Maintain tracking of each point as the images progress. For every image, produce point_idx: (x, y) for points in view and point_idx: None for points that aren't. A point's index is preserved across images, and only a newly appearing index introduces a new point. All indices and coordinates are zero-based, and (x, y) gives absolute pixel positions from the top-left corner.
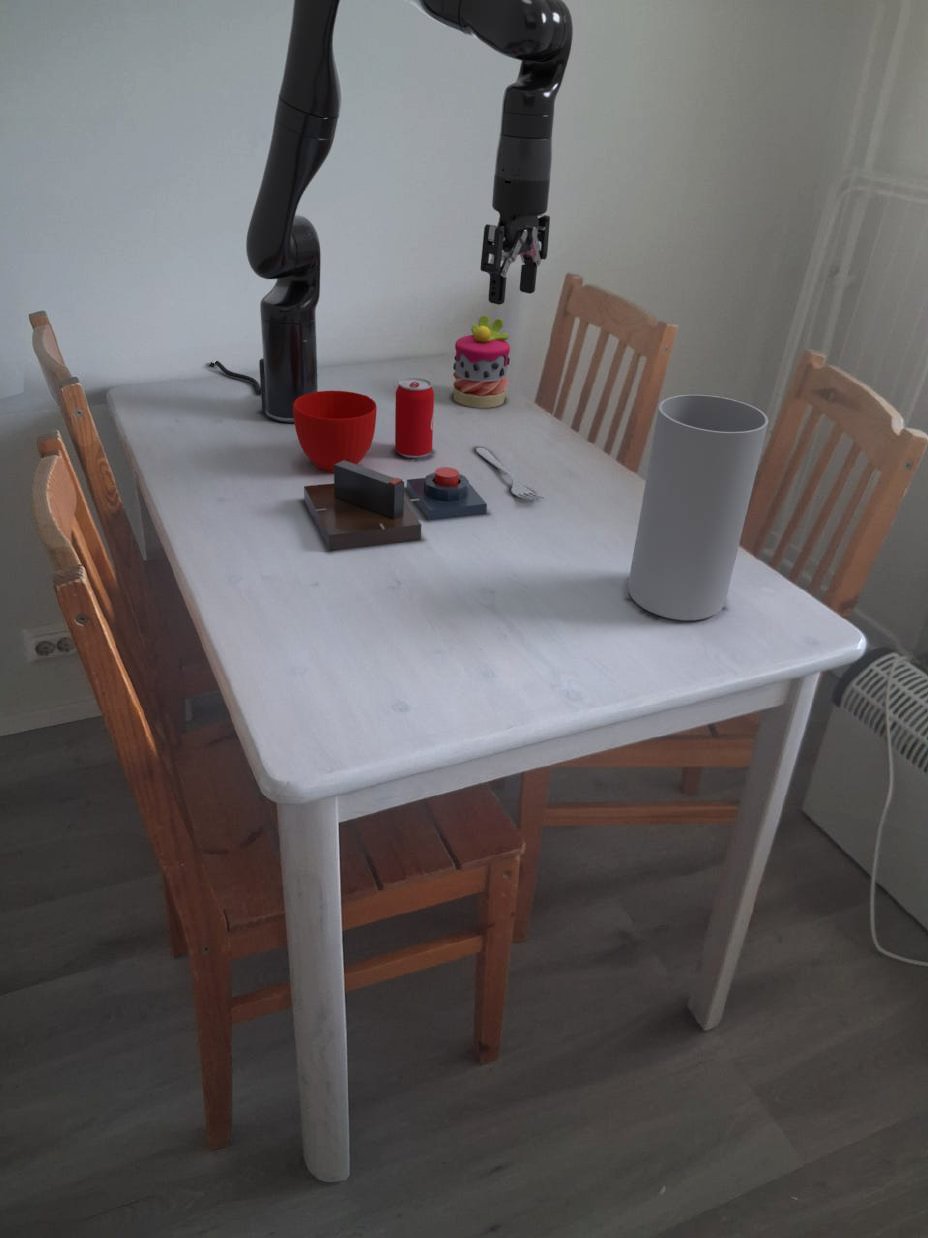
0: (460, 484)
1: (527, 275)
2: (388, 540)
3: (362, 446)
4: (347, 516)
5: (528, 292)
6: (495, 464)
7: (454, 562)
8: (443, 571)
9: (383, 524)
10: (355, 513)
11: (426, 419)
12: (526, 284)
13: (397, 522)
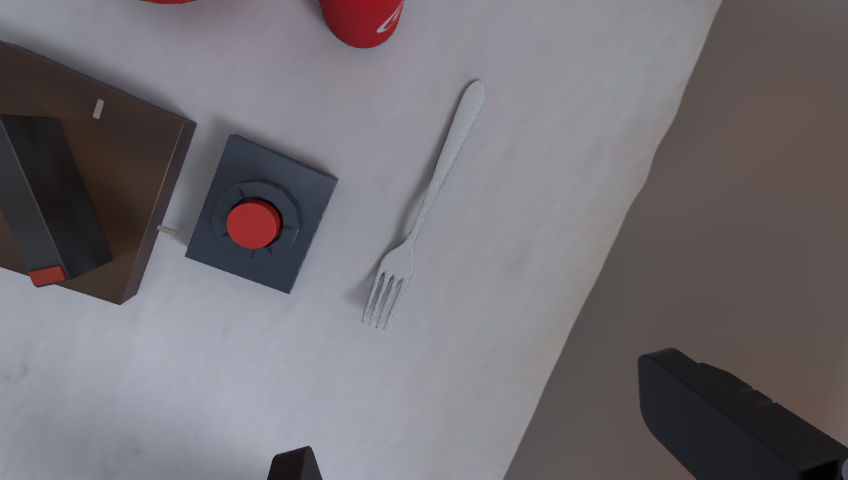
0: (266, 250)
1: (722, 465)
2: None
3: (172, 3)
4: None
5: (642, 404)
6: (437, 169)
7: (141, 370)
8: (109, 380)
9: None
10: None
11: (359, 27)
12: (672, 418)
13: (84, 278)
